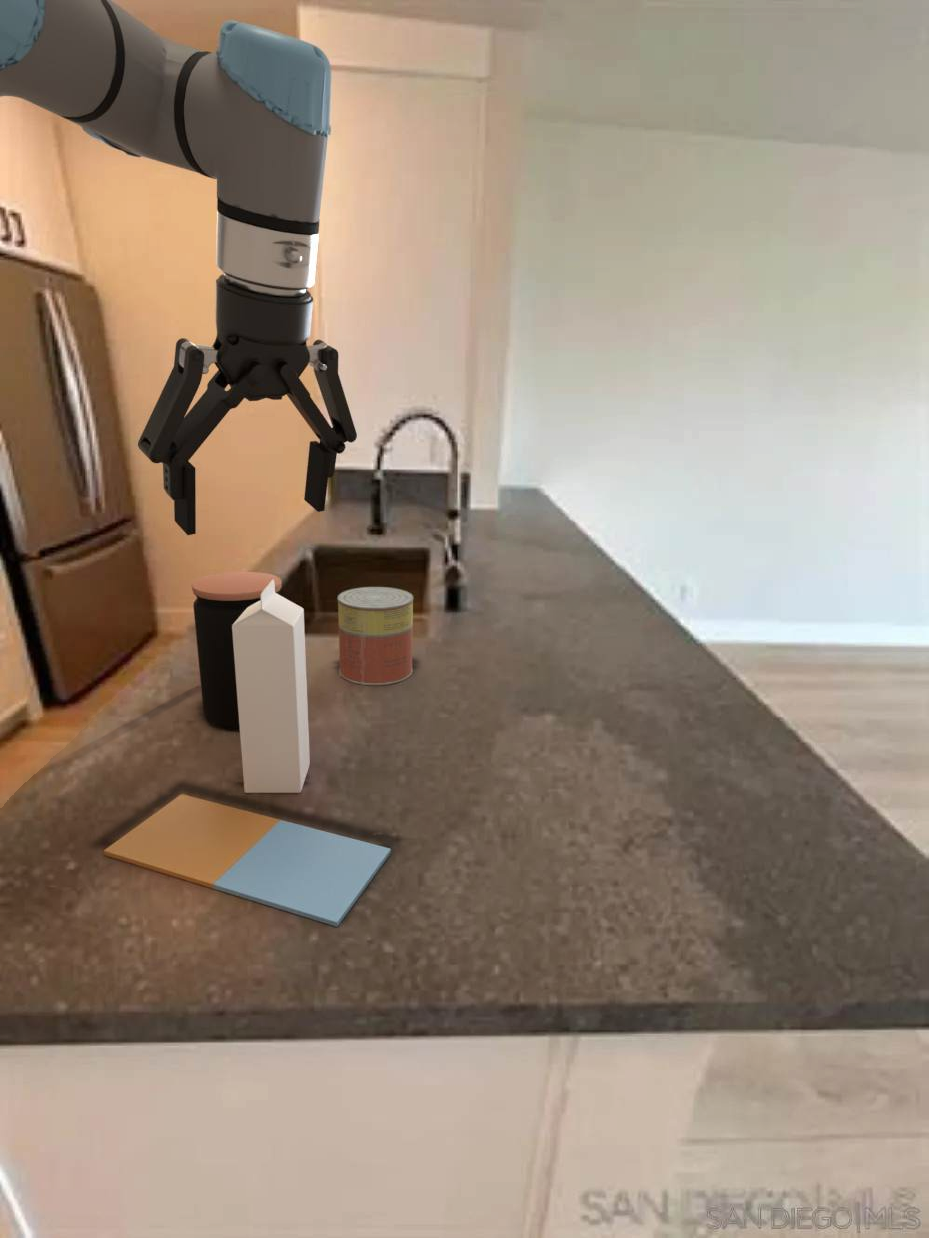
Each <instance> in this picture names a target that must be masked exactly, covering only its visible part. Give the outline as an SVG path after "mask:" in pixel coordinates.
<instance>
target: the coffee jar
mask: <svg viewBox="0 0 929 1238" xmlns="http://www.w3.org/2000/svg"><path fill="white" fill-rule="evenodd" d="M272 580H274V583H275V593H277V594H278V595H280V594H279V592H280V591H281V588H282V582H283V581H282V579H281V578H280V577H279V576H276V575H274V574H271V573H265V572H260V571H259V572H257V571H256V572H255V571H230V572H221V573H215V574H214V573H213V574H210V575H206V576H202V577H200V578H197V579H195V580H194V581H193V582H192V583H191V589H192V590H191V591H192V594H193V595H194V596H195V597H196V599H195V600H194V601H193V605H192V607H193V617H194V627H195V636H196V648H197V659H198V669H199V681H200V691H201V698H202V699H201V702H202V709H203V712H204V715H205V717H206V718H207V719H209V721H210V722H211V723H212V724H213V725H214V726H217V727H218V728H219V727H220V728H222V729H228V730H235V731H236V730H240V726H239V713H238V700H237V686H236V673H235V660H234V647H233V634H232V625H233V624H234V622H235V621H236V620H237V619H238V618H239V617H240V615H241V614H242V613H243V612H244V611H245V610H246V608H247V607H249V606H251V605H252V604H254V603H256V602H258V601H260V596H261V593H262V592H263V590H264V589H265V588H266V587H267V586H268V584H269V583H270V582H271V581H272Z"/></svg>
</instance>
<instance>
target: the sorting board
mask: <svg viewBox="0 0 929 1238" xmlns="http://www.w3.org/2000/svg"><path fill="white" fill-rule="evenodd" d="M391 853H392V849H391V848H390V847H386V846H382V845H379V844H374V843H371V842H367V841H362V840H359V839H355V838H351V837H347V836H343V835H340V834H336V833H332V832H328V831H324V830H320V829H317V828H313V827H310V826H305V825H302V824H299V823H298V824H297V823H294V822H290V821H286V820H282V819H278V818H275V817H271V816H267V815H263V814H259V813H255V812H253V811H249V810H246V809H240V808H237V807H233V806H229V805H225V804H222V803H218V802H213V801H210V800H205V799H202V798H199V797H194V796H190V795H187V794H183V793H181V794H179V795H178V796H177V797H175V798H174V799H172V800H171V801H170V802H169V803H167V804H166V805H164V806H163V807H162V808H160V809H158V810H157V811H156V812H155V813H153V814H152V815H150V816H149V817H148V818H147V819H145V820H144V821H142V822H140V824H138V825H137V826H135V827H134V828H133V829H131V830H130V831H129V832H127V833H126V834H124V835H123V836H122V837H120V838H119V839H118V840H115V842H113V843H111V845H109V846H108V847H106V848H105V849H104V850H103V855H104V856H106V857H110V858H112V859H115V860H119V861H122V862H125V863H129V864H131V865H136V866H139V867H142V868H144V869H145V868H146V869H148V870H152V871H155V872H157V873H161V874H164V875H168V876H171V877H174V878H178V879H181V880H184V881H187V882H189V883H193V884H197V885H200V886H204V887H207V888H209V889H213V890H216V891H219V892H222V893H226V894H229V895H233V896H235V897H238V898H241V899H245V900H249V901H251V902H255V903H259V904H261V905H264V906H268V907H271V908H274V909H278V910H281V911H284V912H287V913H290V914H294V915H297V916H301V917H304V918H307V919H310V920H314V921H317V922H319V923H323V924H326V925H330V926H333V927H336V928H338V926H339V925H341V923H342V921H343V920H344V919H345V918H346V916H347V915H348V913H349V912H350V911H351V909H352V908H353V906H354V905H355V903H356V902H357V901H358V899H359V898H360V897H361V895H363V892H365V890H366V889H367V887H368V885H369V884H370V883H371V882H372V880H373V878H374V877H375V876H376V875H377V874H378V872H379V870H380V869H381V867H382V866H383V865H384V863H385V862H386V861H387V860H388V858H389V856H391Z"/></svg>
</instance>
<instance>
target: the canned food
mask: <svg viewBox="0 0 929 1238" xmlns="http://www.w3.org/2000/svg"><path fill="white" fill-rule="evenodd" d="M414 598H415V597H414V595H413V594H412V593H411V592H409V591H407V590H404V589H400V588H396V587H388V586H363V587H356V588H350V589H347V590H344V591H342V592H340V593H339V594H338V595H337V599H336V600H337V603H338V604H337V607H338V608H337V609H338V645H339V646H338V649H339V651H338V652H339V670H338V674H339V675H340V677H341V678H342V679H344V680H345V681H347V682H349V683H352V684H356V685H362V686H374V687H375V686H378V687H379V686H388V685H393V684H398V683H400V682H403V681H405V680H407V679H409V678H410V677H411V676H412V674H413V672H414V670H413V627H414V626H413V621H414Z"/></svg>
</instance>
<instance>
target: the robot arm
mask: <svg viewBox="0 0 929 1238" xmlns="http://www.w3.org/2000/svg"><path fill="white" fill-rule="evenodd" d="M331 96H332V67H331V63H330V60H329V58H328V56H327V54H326V53H325V52H324V51H323V50H322V49H321V48H320V47H319V46H317V45H315V44H313V43H310V42H308V41H305V40H302V39H299V38H296V37H294V36H291V35H287V34H284V33H281V32H278V31H276V30H272V29H268V28H265V27H262V26H258V25H254V24H250V23H246V22H242V21H241V22H239V21H237V20H233V19H231V20H225V21H223V23H222V25H221V26H220V29H219V36H218V45H217V46H216V51H215V52H211V51H207V50H202V49H198V48H196V47H193V46H189V45H187V44H182V43H180V42H176V41H174V40H171V39H169V38H167V37H164V36H162V35H160V34H159V33H157V32H156V31H154V30H153V29H152V28H150V27H149V26H147V25H146V24H145V23H143V22H142V21H141V20H139V19H138V18H136V17H135V16H134V15H132V14H131V13H130V12H128V11H127V10H125V9H124V8H123V7H121V6H120V5H118V4H117V3H116V2H115V1H113V0H0V98H1V97H14V98H19V99H21V100H24V101H25V102H26V101H27V102H29V103H31V104H33V105H35V106H37V107H39V108H41V109H44V110H46V111H47V112H50V113H52V114H54V115H56V116H59V117H60V118H63V119H65V120H67V121H69V122H71V123H73V124H76V125H77V126H79V127H81V129H82V130H83V131H84V133H86V134H87V135H88V136H89V137H91V138H92V139H94V140H95V141H97V142H100V143H103V144H104V145H107V146H109V147H110V148H113V149H116V150H119V151H122V152H123V153H125V154H126V155H127V156H130V157H134V158H141V157H142V158H145V159H148V160H149V159H150V160H152V161H156V162H159V163H163V164H166V165H170V166H173V167H175V168H180V169H183V170H187V171H191V172H194V173H197V174H199V175H202V176H203V177H207V178H210V179H213V180H216V199H217V201H216V243H215V244H216V245H215V247H216V249H215V253H216V255H215V266H216V267H217V269H218V270H219V271H220V272H221V273H223V274H221V275H219V276H218V278H217V279H215V327H216V337H215V339H214V342H213V344H212V345H205V344H198V343H197V344H196V343H193V342H191V341H190V340H189V339H187V338H185V337H183V338H182V337H181V338H178V340H177V341H176V343H175V351H174V359H173V360H174V361H173V367H172V369H171V371H170V372H169V373H170V374H169V376H168V378H167V380H166V382H165V384H164V386H163V388H162V391H161V393H160V395H159V396H158V398H157V401H156V404H155V405H154V408H153V410H152V411H151V414H150V415H149V418H148V420H147V422H146V425H145V427H144V429H143V430H142V433H141V435H140V437H139V439H138V441H137V447H138V450H140V451H141V452H142V453H143V454H144V456H146V457H147V458H148V460H150V461H151V463H153V464H160V463H162V475H163V476H162V477H163V478H162V479H163V480H162V482H163V489H164V491H165V493H166V494H167V496H169V498H170V499H171V500H172V501H173V512H174V516H173V517H174V523H176V525H177V526H179V528H180V529H181V530H182V531H183V532H184V533H185V534H186V536H191V535H196V534H197V529H196V528H197V527H196V526H197V525H196V524H197V522H196V521H197V520H196V516H197V515H196V514H197V512H196V511H197V510H196V505H197V503H196V502H197V499H196V495H197V493H196V487H197V486H196V467H195V466H194V465H193V464H192V463H191V462H190V460H191V458H193V456H194V455H195V454H196V452H197V451H198V450H199V448H201V446H202V445H203V444H204V442H205V441H206V440H207V439H208V438H209V437H210V435H211V434H212V433H213V432H214V430H215V429H216V428H217V427H218V425H219V424H220V423H221V422H222V421H223V419H224V418H225V417H226V415H228V413H229V412H230V411H231V410H232V409H236V408H237V407H239V405H240V404H241V403H242V401H243V400H244V399H246V400H247V401H248V402H258V401H260V400H264V399H268V400H273V401H280V400H283V397H285V396H287V397H288V399H289V400H290V401H291V403H292V404H293V406H294V407H295V409H296V410H297V411H298V413H299V414H300V416H301V417H302V418H303V419H304V421H305V422H306V424H307V425H308V426H309V428H310V430H311V431H312V432H313V434H314V435H315V436H316V438H317V439H318V440H319V441H317V440H311V441H309V448H308V458H307V467H306V475H305V488H304V497H303V499H304V500H303V501H305V502H306V503H307V504H308V505H309V506H310V507H312V508H313V509H314V510H315V511H316V512H317V513H319V512H325V508H326V502H327V501H326V499H327V491H328V483H329V478H330V479H331V478H333V477H334V475H335V470H336V463H337V456H338V455H337V454H339V455H340V454H343V453H344V451H345V450H346V444H345V443H347V442H348V443H354V442H355V441H356V439H358V434H357V433H358V432H357V430H356V426H355V423H354V420H353V417H352V413H351V410H350V406H349V404H348V401H347V398H346V394H345V391H344V387H343V384H342V381H341V378H340V375H339V351H338V350H337V349H336V348H334V347H333V346H331V345H330V344H329V343H327V342H325V341H323V340H322V339H315V340H314V342H313V343H312V345H307V344H308V343H307V341H308V340H309V339H310V336H311V329H312V320H313V319H312V318H313V308H314V298H313V296H312V294H311V292H310V291H309V290H310V289H311V288H312V287H313V286H315V278H316V267H317V258H318V257H317V256H318V246H319V237H320V236H319V235H320V232H319V231H320V221H321V219H320V218H321V217H320V216H321V206H322V197H323V190H324V189H323V188H324V179H325V168H326V159H327V149H328V142H329V141H328V139H329V138H330V136H331V132H332V126H331V124H330V120H331V119H330V118H331ZM213 364H214V365H215V367H216V368H217V369H218V370H217V371H216V372H215V373H214V374H213V376H212V377H211V378H210V380H209V381H208V382H207V384H206V390H205V391H204V392H203V393H202V395H201V396H200V397H199V399H198V400H196V402H195V403H194V405H193V406H192V407H191V409H190V406H191V404H192V403H193V400H194V398H195V396H196V394H197V392H198V389H199V387H200V386H201V382H202V380H203V379H202V378H203V375H206V374H208V373H209V367H210V366H211V365H213ZM308 366H310V368H312V369H313V373H314V376H315V379H316V382H317V386H318V388H319V391H320V393H321V397H322V400H323V402H324V406H325V408H326V411H327V415H328V418H329V420H330V423H329V422H328V420H327V418H326V417H325V416H324V414H323V413H322V411H321V410H320V409H319V407H318V406H317V404H316V403H315V401H314V400H313V398H312V397H311V393H310V391H309V390H308V389H307V387H306V386H305V384H304V382H303V381H302V380H301V378H300V377H301V376H302V374H303V372H304V371H305V370H306V368H307V367H308ZM228 386H229V387H230V388H229V389H228V390H226V388H227V387H228ZM188 410H189V411H188ZM330 424H331V425H330Z"/></svg>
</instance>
